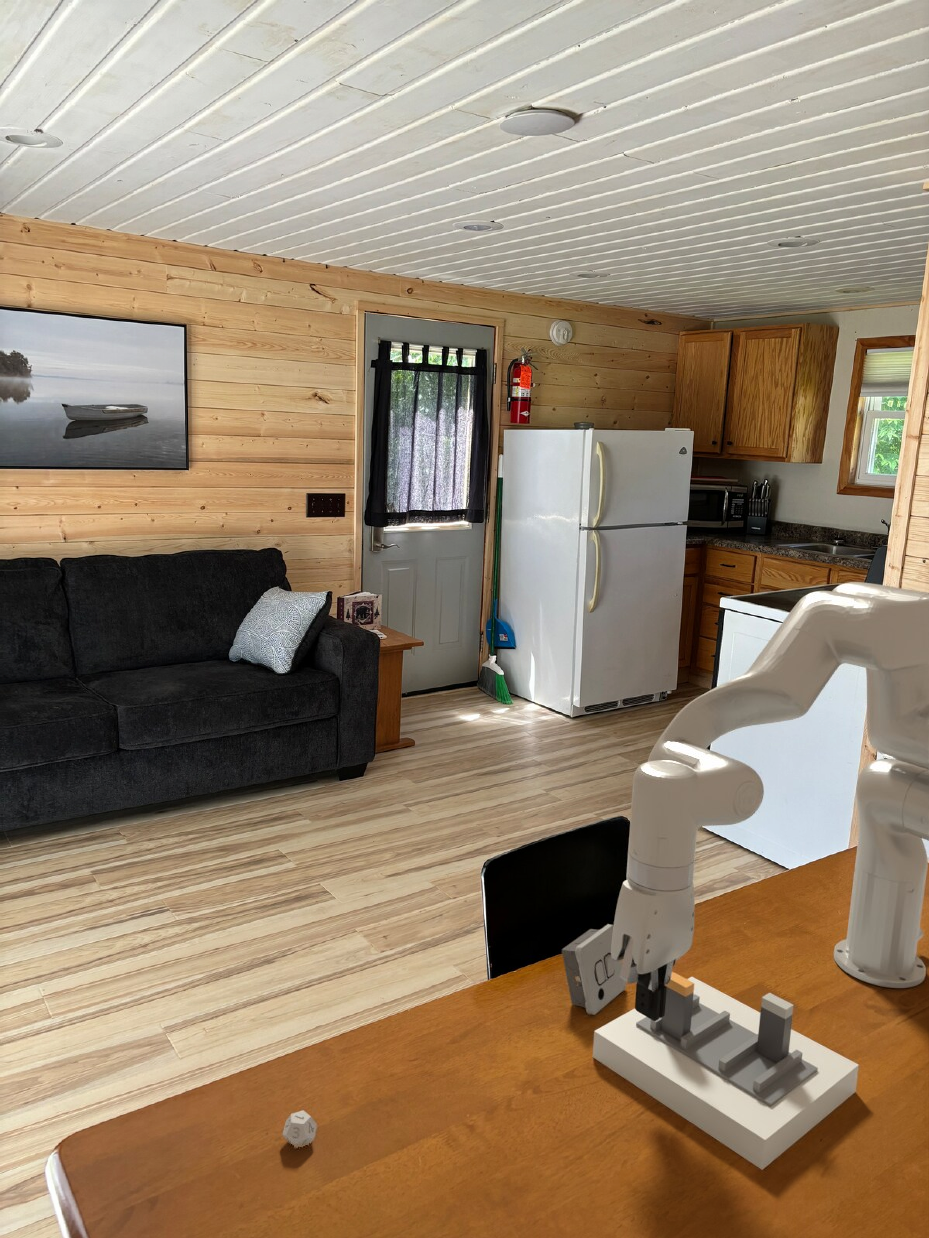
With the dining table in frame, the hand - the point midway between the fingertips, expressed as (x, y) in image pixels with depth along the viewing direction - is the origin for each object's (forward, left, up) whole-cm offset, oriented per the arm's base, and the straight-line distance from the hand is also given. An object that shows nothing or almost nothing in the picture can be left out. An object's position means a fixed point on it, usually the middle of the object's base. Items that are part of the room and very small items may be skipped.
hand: (649, 1013), depth 114 cm
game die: (+37, -17, -9) cm, 42 cm away
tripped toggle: (-5, 0, -5) cm, 7 cm away
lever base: (-9, +5, -9) cm, 13 cm away
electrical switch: (-8, -16, -9) cm, 20 cm away
